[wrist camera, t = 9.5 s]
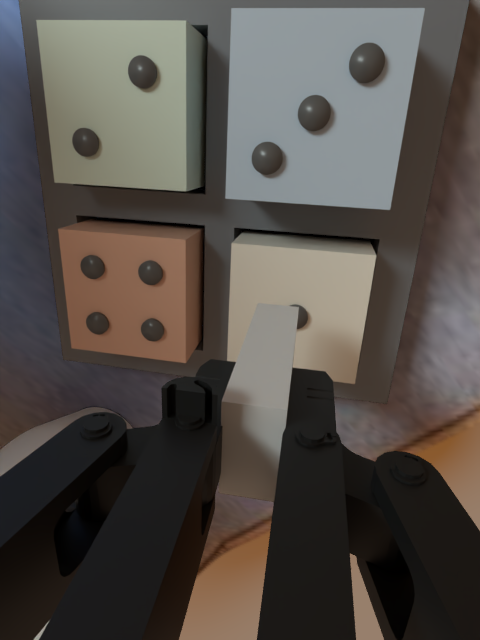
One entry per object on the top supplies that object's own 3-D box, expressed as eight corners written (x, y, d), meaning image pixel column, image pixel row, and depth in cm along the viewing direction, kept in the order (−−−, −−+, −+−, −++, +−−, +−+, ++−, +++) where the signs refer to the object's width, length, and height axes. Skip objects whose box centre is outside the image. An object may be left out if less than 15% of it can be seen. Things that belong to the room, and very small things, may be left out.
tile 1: (238, 341, 23) (225, 369, 20) (244, 230, 21) (230, 244, 18) (351, 355, 22) (355, 386, 20) (369, 241, 20) (376, 256, 17)
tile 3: (240, 191, 19) (224, 199, 16) (247, 30, 17) (230, 6, 14) (380, 200, 18) (390, 210, 15) (408, 31, 16) (426, 5, 13)
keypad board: (81, 345, 27) (63, 359, 25) (44, -9, 20) (15, -25, 18) (382, 384, 24) (387, 403, 22) (459, -12, 17) (475, -31, 15)
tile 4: (100, 325, 25) (69, 349, 22) (91, 219, 22) (55, 229, 19) (202, 338, 24) (184, 365, 21) (203, 228, 21) (184, 240, 18)
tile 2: (89, 178, 22) (51, 182, 19) (77, 38, 19) (33, 18, 16) (204, 185, 21) (184, 191, 18) (207, 39, 18) (184, 19, 16)
